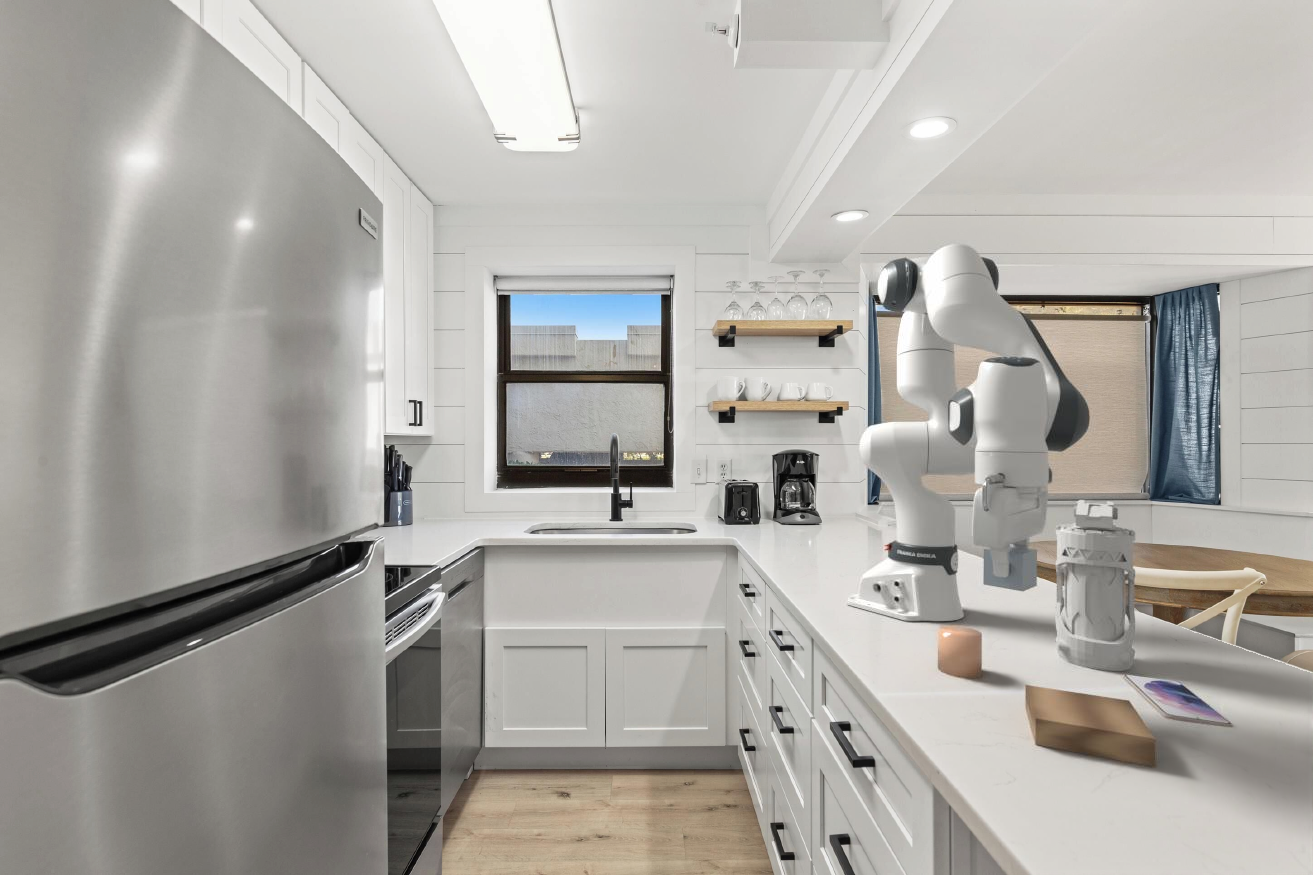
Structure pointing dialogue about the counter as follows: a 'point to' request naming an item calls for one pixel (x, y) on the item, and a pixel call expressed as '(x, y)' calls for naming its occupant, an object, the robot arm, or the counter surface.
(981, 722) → the counter surface
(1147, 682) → the smartphone
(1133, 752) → the base slab
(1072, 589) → the lantern
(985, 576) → the cube
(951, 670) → the peach rounded cylinder
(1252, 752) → the counter surface
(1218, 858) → the counter surface
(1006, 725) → the counter surface
